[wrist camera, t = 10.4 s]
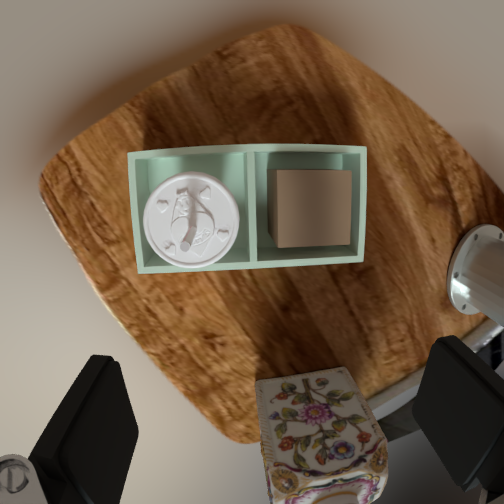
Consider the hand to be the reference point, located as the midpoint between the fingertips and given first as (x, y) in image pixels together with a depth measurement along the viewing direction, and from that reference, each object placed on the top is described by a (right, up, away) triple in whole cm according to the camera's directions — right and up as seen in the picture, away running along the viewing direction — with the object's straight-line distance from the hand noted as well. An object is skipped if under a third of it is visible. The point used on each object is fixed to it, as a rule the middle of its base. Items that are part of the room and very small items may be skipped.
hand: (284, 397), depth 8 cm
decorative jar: (+5, -16, +30) cm, 34 cm away
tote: (-1, +9, +22) cm, 24 cm away
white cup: (-6, +9, +21) cm, 24 cm away
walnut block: (+3, +9, +22) cm, 24 cm away
